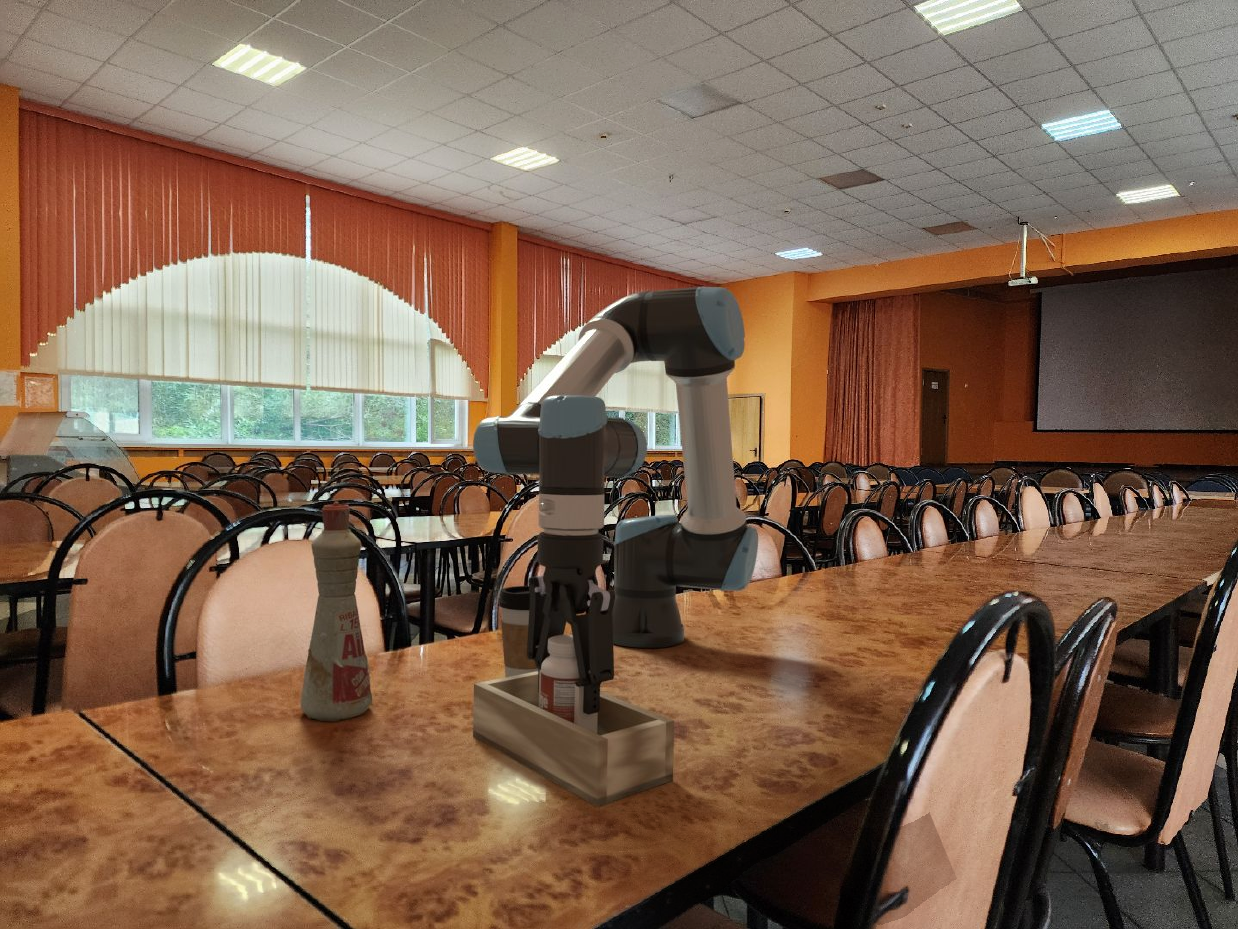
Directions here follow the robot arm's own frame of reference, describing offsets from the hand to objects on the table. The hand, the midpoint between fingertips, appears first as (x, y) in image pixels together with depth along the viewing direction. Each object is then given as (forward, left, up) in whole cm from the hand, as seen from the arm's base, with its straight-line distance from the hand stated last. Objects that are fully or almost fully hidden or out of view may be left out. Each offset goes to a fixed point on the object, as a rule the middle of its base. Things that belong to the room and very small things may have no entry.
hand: (567, 731), depth 92 cm
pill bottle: (0, 0, -1) cm, 1 cm away
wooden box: (0, 0, -3) cm, 3 cm away
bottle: (+15, -31, -3) cm, 35 cm away
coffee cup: (-11, -25, -3) cm, 28 cm away
